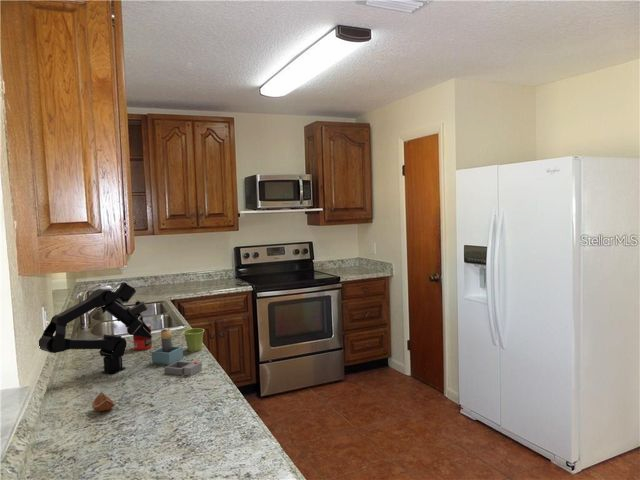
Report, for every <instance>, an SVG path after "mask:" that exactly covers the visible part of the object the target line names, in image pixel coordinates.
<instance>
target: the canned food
mask: <svg viewBox="0 0 640 480" xmlns="http://www.w3.org/2000/svg"><path fill="white" fill-rule="evenodd" d="M144 323H145V324H146V325H147V326H148V327H149V329H150V330H151V332H150V334H151V335H152V327H151V326H152V325H151V323H149V322H148V323H147V322H144ZM132 336H133V337H132V338H133V348H134V350H135V351H139V352H141V351H142V350H143V351H147V350H150V349H152V347H153V341H152V340H153V339H152V337H151V338H146V337H141V336H136V335H132Z"/></svg>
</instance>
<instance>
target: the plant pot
mask: <svg viewBox="0 0 640 480" xmlns="http://www.w3.org/2000/svg"><path fill="white" fill-rule="evenodd" d="M204 332H205V329H204V328H188V329H186V330H184V331H183V332H182V333H183V335H184V338H185V341H186V342H185V343H186V348H187V351H189V352H190V353H191V352H193V353H196V352H197V351H199V350H200V351H201V350H202V349H203V337H204Z"/></svg>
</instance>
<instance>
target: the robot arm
mask: <svg viewBox="0 0 640 480" xmlns="http://www.w3.org/2000/svg"><path fill="white" fill-rule="evenodd" d="M136 293H137V290H136V289H135V287H133V286H131V285H129V284H127V283H126V282H121V284H120V285H119V286H118V288H117V289H116V290H115V291H112V290H110V289H107V288H106V289H103V288H97V289H95V290H94V291H92V292H91V293H90V294H89V295H88V296H87V298H85V299H84V300H82V301H80V302H78V303H77V304H75V305H73V306H71V307H69V308H68V309H67V308H66V310H64V311H62V312H59V313H58V314H55V315H53V316H52V317H51V319H50V322H49V324H48V325H47V327H46V328H45V329H44V330H43V333H42V336H41V337H40V339H39V340H38V342H39V346H40V348H39V350H40V349H41V350H40V351H43V352H46V353H52V354H57V353H62V352H66V351H68V350H99V352H98V353H99V355H100V356H101V357H103V358H102V359H103V369H104V370H101V373H102V374H109V375H114V374H116V373H119V372H121V371H124V370H126V367H124V365H123V356H124V355H125V351H126V348H127V344H128V343H127V340H126V338H124V337H122V336H121V335H119V334H114V333H113V334H112V333H111V334H103V337H102V338H71V337H70V338H67V337H66V332H67V326H68V324H69V323H71V322H72V321H74V320H76V319H77V318H80V317H82V316H83V315H85V314H87V313H88V312H90V311H92V310H93V309H97V308H99V310H100V315H103V314H105V313H109V314H110V315H111V316H112V317H114V318H115V319H116V320H117V321H118V322H121V323H122V324H123V325H124V326H125V328H126V333H127V334H128V335H130V336H133V335H136V336H141V337H146V338H152V337H153V336H152V329H151V330H150V329H149V327H148V326H147V325H146V324H145V323H146V322H145V321H144V318H143V317H144V316H143V314H142V313H143V312H146V311H147V310H148V306H147V305H146V304H145V301H143V300H142V301H139V300H137V301H135V302H134V305H133V307H129V306H125V305H124V303H126V304H127V303H128V302H129V301H130V300H131V299H132V298H133V297H134V295H135V294H136ZM150 332H151V334H150ZM39 346H38V347H39Z"/></svg>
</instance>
